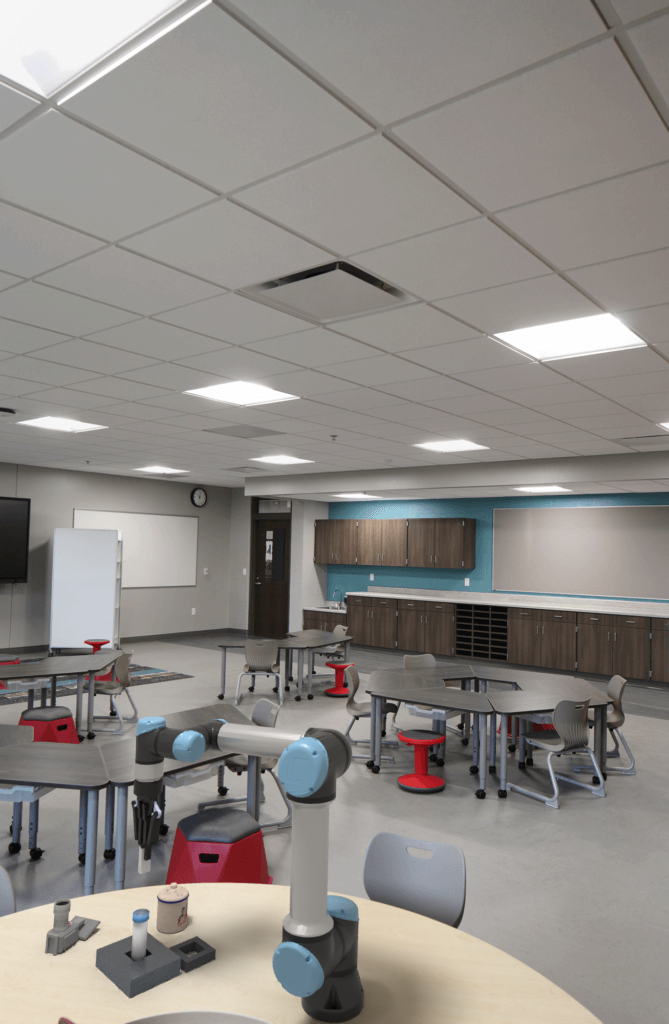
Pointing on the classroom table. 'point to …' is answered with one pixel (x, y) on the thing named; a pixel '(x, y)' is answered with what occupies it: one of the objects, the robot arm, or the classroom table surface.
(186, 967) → the frame
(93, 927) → the camera
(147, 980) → the port panel
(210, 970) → the classroom table surface
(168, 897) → the teacup with lid
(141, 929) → the plug
